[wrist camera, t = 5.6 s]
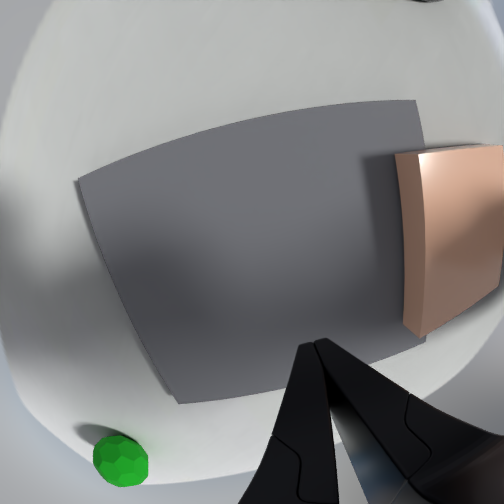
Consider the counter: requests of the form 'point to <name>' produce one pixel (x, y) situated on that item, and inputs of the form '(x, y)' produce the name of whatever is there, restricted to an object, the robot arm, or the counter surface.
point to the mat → (260, 244)
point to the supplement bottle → (432, 0)
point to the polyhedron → (120, 461)
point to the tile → (450, 230)
